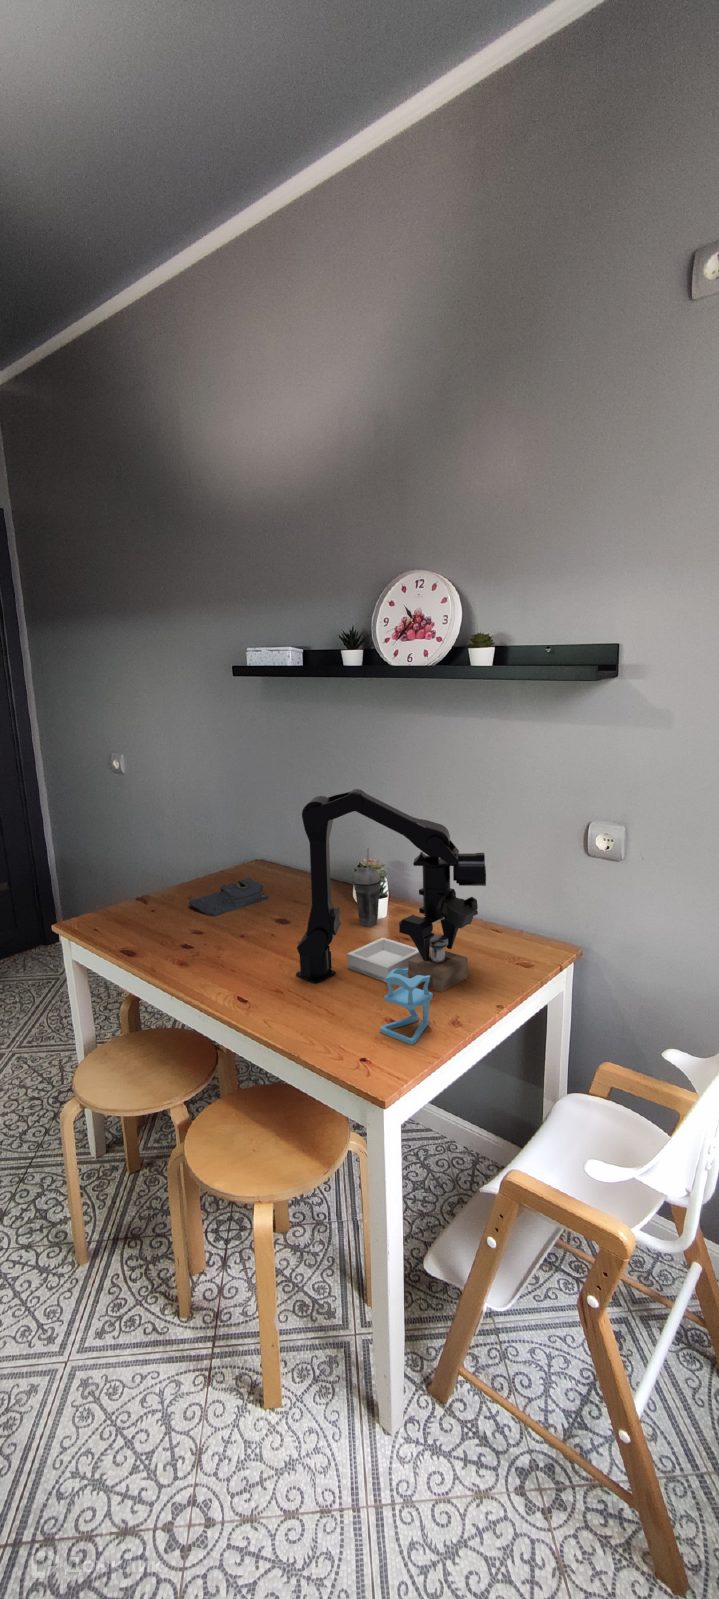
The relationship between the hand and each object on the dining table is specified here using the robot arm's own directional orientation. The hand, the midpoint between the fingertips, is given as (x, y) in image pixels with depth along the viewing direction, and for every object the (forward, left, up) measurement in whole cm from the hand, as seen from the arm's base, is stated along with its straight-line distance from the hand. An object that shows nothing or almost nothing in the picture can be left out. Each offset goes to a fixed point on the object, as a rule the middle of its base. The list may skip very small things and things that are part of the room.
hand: (437, 954), depth 156 cm
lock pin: (0, 0, -6) cm, 6 cm away
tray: (-2, +13, -6) cm, 14 cm away
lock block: (0, 0, -6) cm, 6 cm away
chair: (-20, -9, -6) cm, 23 cm away
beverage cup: (+15, +34, -6) cm, 37 cm away
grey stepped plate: (+2, +78, -6) cm, 78 cm away
